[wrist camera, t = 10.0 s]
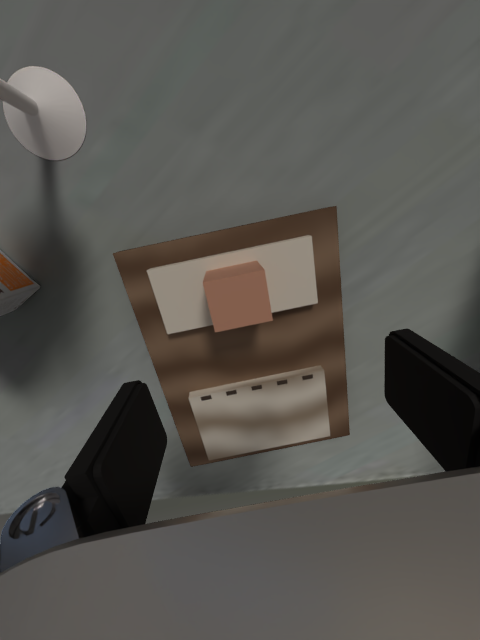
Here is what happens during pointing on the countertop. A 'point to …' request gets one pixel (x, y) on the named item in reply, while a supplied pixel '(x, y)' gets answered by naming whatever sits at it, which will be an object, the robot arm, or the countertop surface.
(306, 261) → the stub
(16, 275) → the skincare box
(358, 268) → the countertop surface
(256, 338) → the board
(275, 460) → the countertop surface
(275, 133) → the countertop surface
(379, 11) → the countertop surface
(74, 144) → the champagne flute
